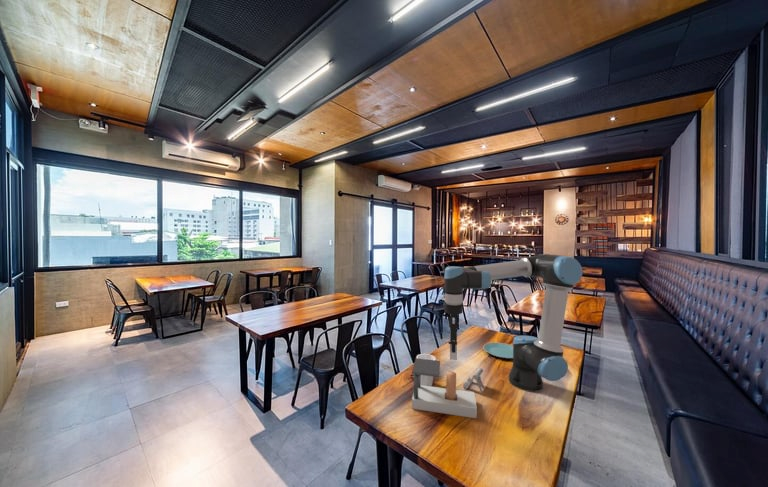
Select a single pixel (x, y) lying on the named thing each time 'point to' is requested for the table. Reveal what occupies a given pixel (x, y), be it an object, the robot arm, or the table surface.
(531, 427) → the table surface
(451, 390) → the peg
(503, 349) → the plate
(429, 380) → the foam cup
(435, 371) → the dark grey l-shaped piece
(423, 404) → the board
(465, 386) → the portable electronic device stand
